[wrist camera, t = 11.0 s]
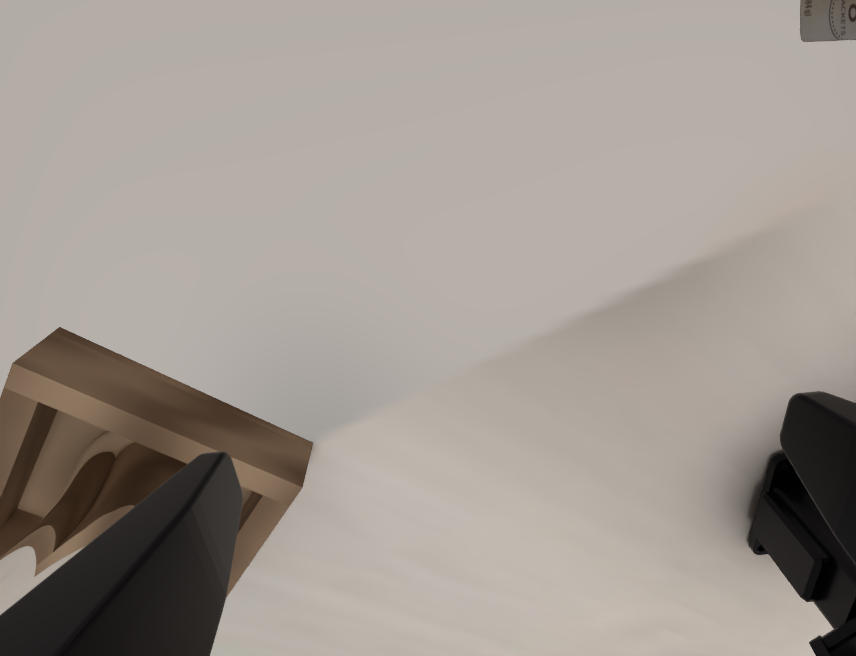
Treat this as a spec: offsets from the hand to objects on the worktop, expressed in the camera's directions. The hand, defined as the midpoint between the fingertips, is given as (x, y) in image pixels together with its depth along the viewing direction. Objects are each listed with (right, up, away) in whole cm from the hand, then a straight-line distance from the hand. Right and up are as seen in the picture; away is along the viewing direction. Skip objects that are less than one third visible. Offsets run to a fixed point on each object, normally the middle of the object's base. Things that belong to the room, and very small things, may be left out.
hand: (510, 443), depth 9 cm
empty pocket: (-15, -5, +17) cm, 23 cm away
